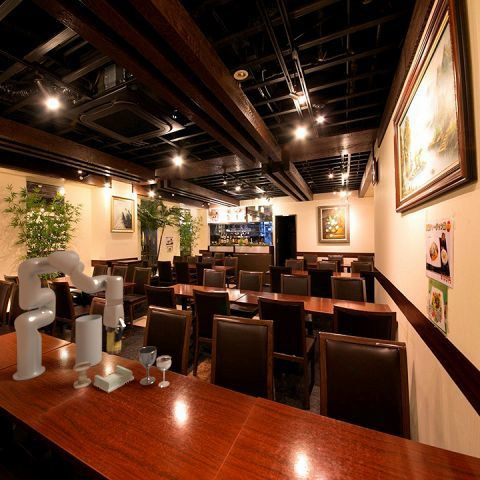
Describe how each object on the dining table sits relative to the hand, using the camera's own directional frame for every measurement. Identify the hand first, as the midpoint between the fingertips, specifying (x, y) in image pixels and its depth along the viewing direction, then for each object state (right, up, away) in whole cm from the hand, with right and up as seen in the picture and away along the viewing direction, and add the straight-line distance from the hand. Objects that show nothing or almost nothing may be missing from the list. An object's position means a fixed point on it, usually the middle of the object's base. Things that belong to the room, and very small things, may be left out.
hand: (114, 338), depth 121 cm
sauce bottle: (0, -7, 0) cm, 7 cm away
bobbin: (-14, -21, -2) cm, 25 cm away
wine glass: (+16, -21, +1) cm, 26 cm away
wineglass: (+25, -21, -2) cm, 32 cm away
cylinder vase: (-24, -21, +19) cm, 37 cm away
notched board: (0, -21, 0) cm, 21 cm away
